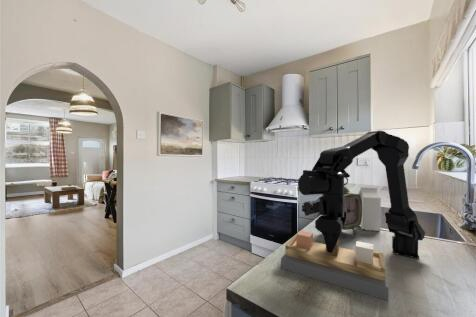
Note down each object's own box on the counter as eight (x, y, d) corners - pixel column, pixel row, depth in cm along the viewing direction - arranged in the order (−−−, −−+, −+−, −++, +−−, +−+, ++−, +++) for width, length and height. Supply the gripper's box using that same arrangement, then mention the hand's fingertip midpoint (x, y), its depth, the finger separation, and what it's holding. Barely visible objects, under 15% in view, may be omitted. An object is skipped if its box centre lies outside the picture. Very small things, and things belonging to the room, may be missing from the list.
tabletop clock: (338, 240, 84) (339, 177, 84) (320, 233, 92) (321, 175, 92) (361, 234, 91) (362, 176, 90) (343, 228, 99) (343, 174, 98)
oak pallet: (383, 264, 60) (383, 231, 60) (385, 282, 51) (386, 244, 51) (294, 244, 73) (295, 217, 73) (285, 256, 64) (285, 225, 64)
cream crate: (372, 258, 58) (373, 244, 58) (373, 265, 55) (373, 249, 55) (356, 255, 61) (356, 241, 60) (355, 260, 57) (355, 246, 57)
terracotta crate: (312, 245, 67) (312, 232, 67) (309, 250, 63) (309, 236, 63) (299, 242, 69) (300, 230, 69) (296, 247, 65) (296, 234, 65)
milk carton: (380, 231, 95) (381, 189, 95) (362, 230, 96) (363, 188, 96) (373, 226, 102) (374, 186, 101) (357, 225, 103) (357, 186, 103)
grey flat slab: (384, 272, 61) (384, 262, 61) (388, 300, 49) (388, 287, 49) (294, 250, 75) (295, 242, 75) (280, 268, 63) (281, 258, 63)
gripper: (311, 186, 74) (311, 231, 74) (296, 195, 58) (295, 251, 58) (347, 189, 68) (346, 238, 68) (341, 199, 52) (340, 262, 52)
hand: (332, 246), depth 62 cm, fingers open, 9 cm apart
